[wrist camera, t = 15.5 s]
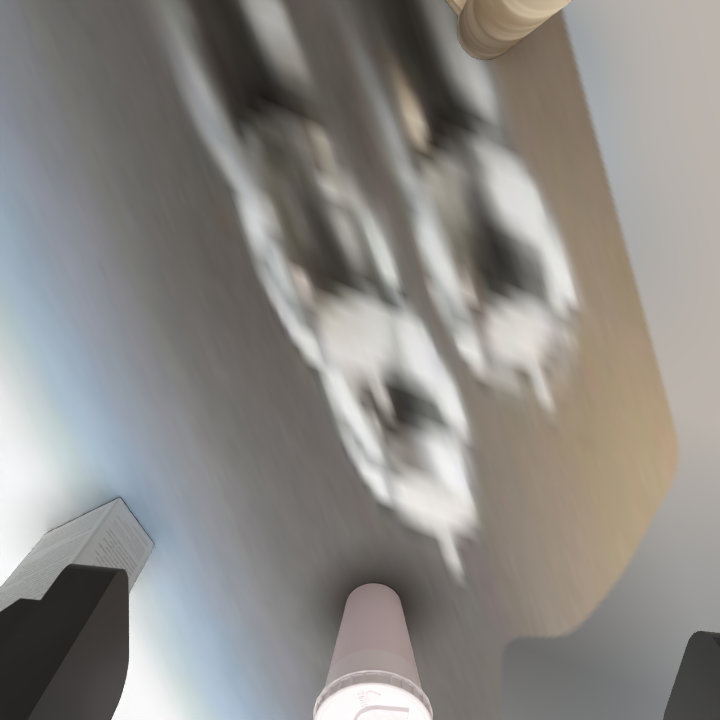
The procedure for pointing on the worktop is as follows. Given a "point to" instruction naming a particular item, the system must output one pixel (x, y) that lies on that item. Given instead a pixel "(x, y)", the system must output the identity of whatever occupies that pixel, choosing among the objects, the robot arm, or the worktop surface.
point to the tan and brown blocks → (499, 23)
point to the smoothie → (373, 663)
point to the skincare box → (81, 551)
